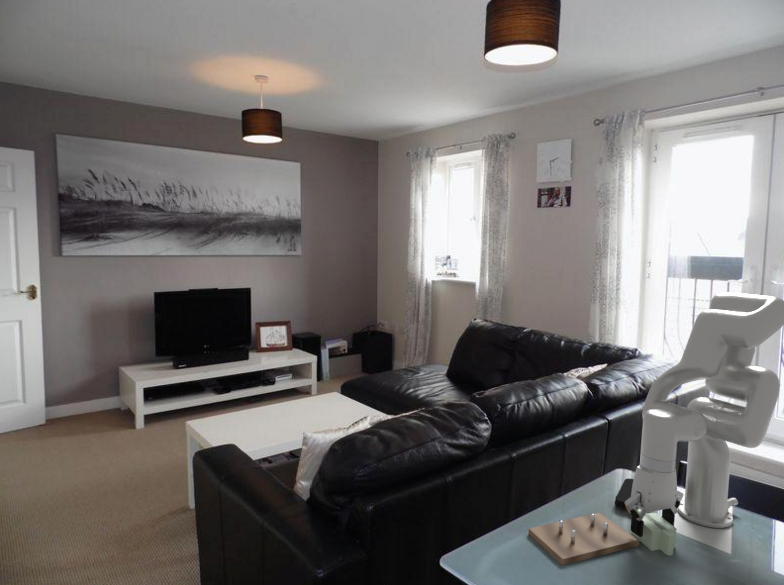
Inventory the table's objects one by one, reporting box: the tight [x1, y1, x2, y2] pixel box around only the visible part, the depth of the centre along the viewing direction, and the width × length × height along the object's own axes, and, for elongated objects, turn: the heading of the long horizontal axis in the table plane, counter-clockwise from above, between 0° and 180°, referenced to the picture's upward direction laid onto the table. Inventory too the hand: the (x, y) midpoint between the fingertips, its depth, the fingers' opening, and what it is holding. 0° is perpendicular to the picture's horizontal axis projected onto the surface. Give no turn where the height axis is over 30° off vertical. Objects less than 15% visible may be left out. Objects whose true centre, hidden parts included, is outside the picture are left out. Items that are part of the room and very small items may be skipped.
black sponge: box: [614, 478, 649, 514], centre depth 146 cm, size 16×8×4 cm, turn 146°
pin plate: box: [527, 512, 640, 566], centre depth 127 cm, size 22×13×4 cm, turn 110°
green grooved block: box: [631, 509, 677, 557], centre depth 126 cm, size 12×6×5 cm, turn 10°
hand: (652, 530), depth 126 cm, fingers open, 9 cm apart
